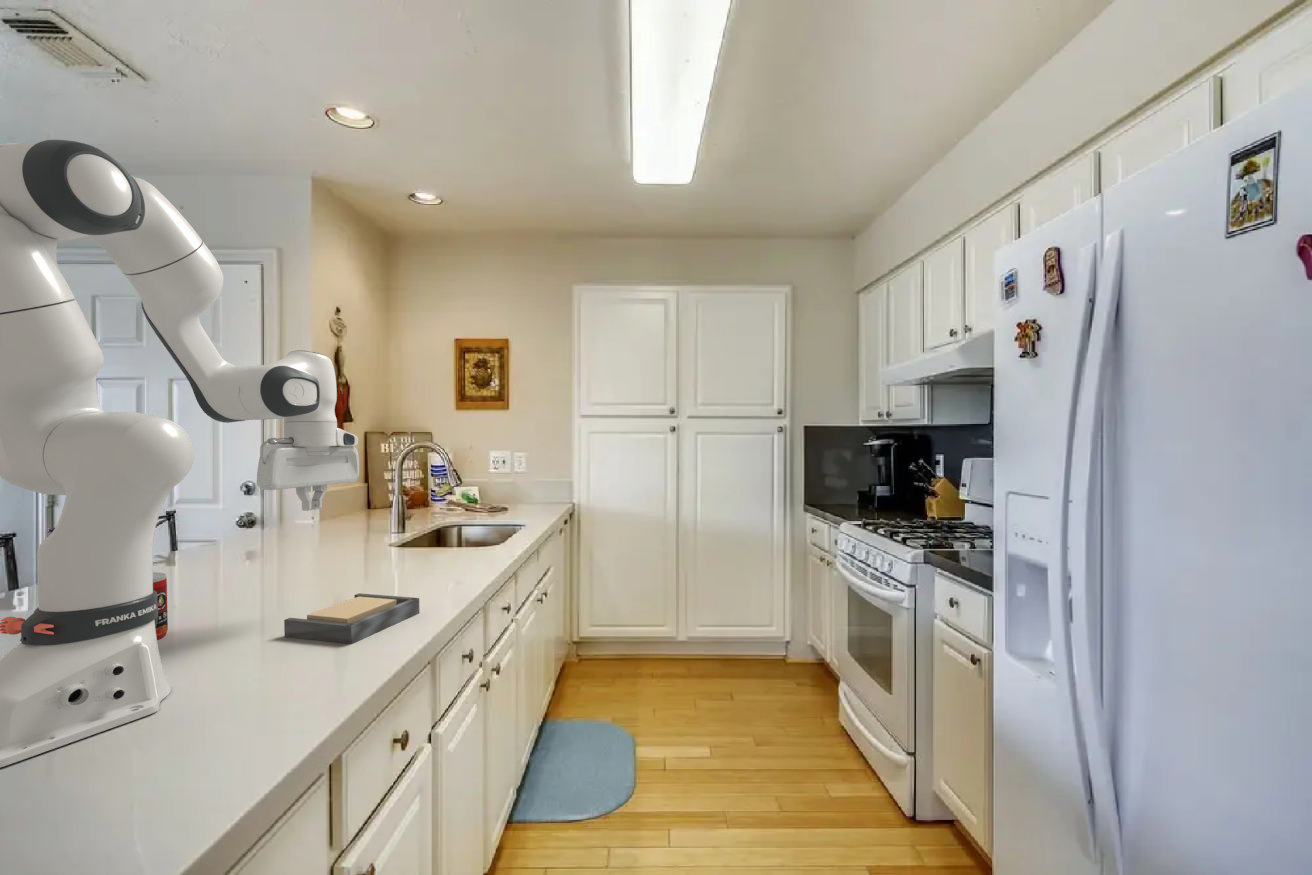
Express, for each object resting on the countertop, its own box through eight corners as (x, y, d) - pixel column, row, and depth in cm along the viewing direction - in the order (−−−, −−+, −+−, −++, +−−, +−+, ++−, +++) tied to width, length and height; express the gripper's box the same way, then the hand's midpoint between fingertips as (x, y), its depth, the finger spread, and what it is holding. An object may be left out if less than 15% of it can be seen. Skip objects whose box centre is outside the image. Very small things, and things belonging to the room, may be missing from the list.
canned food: (142, 647, 100) (140, 582, 100) (96, 647, 100) (94, 583, 100) (179, 631, 108) (178, 571, 108) (136, 631, 108) (135, 572, 108)
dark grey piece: (352, 643, 100) (351, 626, 100) (284, 636, 104) (284, 619, 104) (419, 613, 117) (419, 598, 117) (359, 607, 121) (358, 593, 121)
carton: (347, 641, 103) (347, 618, 103) (307, 637, 105) (306, 614, 105) (396, 620, 114) (396, 599, 114) (359, 616, 117) (358, 596, 117)
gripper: (274, 437, 102) (275, 517, 102) (364, 437, 122) (365, 504, 122) (247, 438, 104) (248, 516, 104) (339, 437, 123) (340, 503, 123)
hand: (312, 509), depth 113 cm, fingers closed
